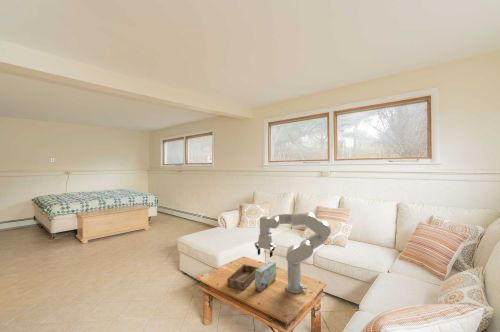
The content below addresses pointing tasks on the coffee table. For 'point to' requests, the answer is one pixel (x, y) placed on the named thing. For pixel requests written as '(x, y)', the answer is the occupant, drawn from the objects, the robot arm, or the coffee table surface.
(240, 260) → the coffee table surface
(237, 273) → the walnut crate
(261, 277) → the snack box
